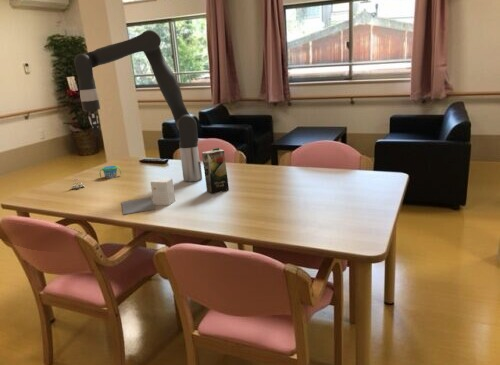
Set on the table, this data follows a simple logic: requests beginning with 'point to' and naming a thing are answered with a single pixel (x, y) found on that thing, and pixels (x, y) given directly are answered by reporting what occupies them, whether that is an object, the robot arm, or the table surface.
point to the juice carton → (215, 171)
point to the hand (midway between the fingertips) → (96, 135)
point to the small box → (163, 191)
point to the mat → (137, 206)
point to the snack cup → (110, 171)
